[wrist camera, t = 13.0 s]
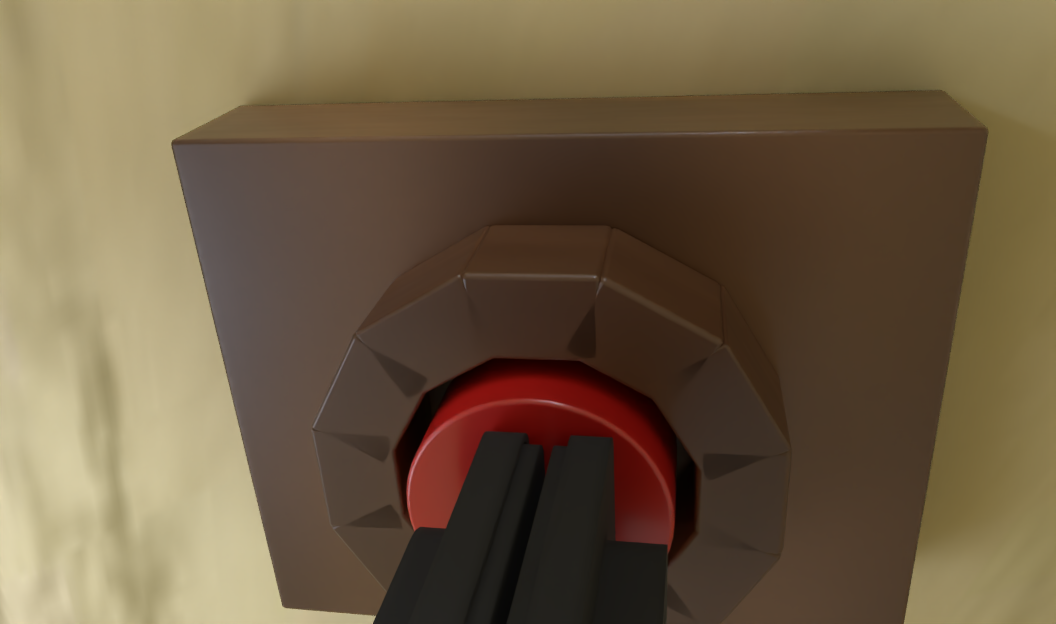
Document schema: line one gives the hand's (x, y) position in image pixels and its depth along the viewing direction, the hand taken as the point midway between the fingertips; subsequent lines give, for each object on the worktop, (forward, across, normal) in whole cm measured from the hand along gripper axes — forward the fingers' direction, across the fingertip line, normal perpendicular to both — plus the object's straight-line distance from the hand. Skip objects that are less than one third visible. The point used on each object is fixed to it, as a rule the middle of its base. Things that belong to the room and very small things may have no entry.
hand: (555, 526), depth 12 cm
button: (+2, 0, 0) cm, 2 cm away
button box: (+5, 0, 0) cm, 5 cm away
